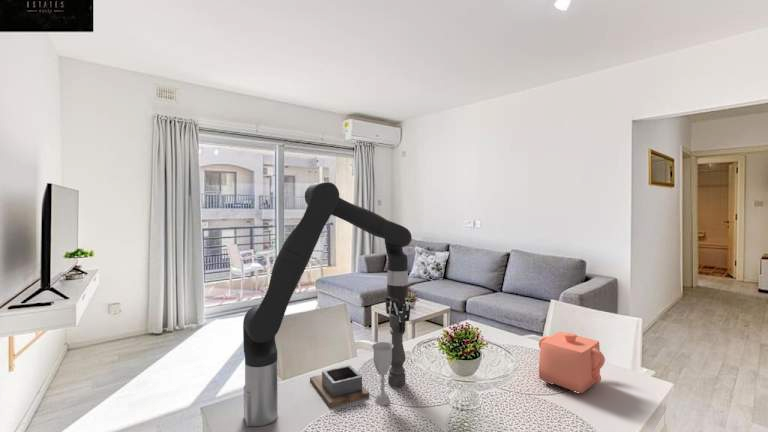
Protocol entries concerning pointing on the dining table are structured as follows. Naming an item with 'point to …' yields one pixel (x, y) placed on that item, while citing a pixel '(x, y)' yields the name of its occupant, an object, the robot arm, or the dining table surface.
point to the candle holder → (396, 354)
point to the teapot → (570, 361)
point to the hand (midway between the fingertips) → (397, 329)
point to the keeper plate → (331, 402)
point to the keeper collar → (341, 381)
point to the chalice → (382, 367)
